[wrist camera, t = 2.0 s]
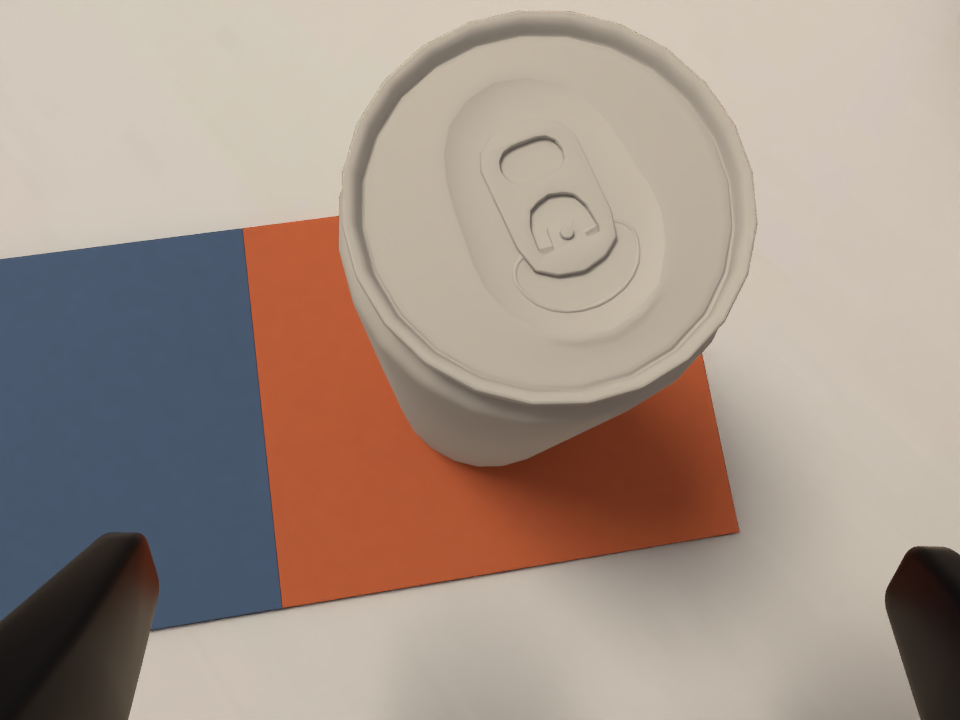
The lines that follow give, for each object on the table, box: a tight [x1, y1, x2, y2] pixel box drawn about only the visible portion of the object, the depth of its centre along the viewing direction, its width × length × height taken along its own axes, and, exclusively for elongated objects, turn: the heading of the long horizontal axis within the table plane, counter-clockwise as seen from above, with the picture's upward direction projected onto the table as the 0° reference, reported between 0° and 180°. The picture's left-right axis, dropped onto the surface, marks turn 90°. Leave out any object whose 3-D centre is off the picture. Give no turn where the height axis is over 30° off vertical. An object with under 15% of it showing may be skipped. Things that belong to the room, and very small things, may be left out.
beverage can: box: [339, 11, 757, 467], centre depth 14 cm, size 5×5×12 cm
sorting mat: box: [0, 216, 739, 630], centre depth 20 cm, size 24×10×1 cm, turn 99°
